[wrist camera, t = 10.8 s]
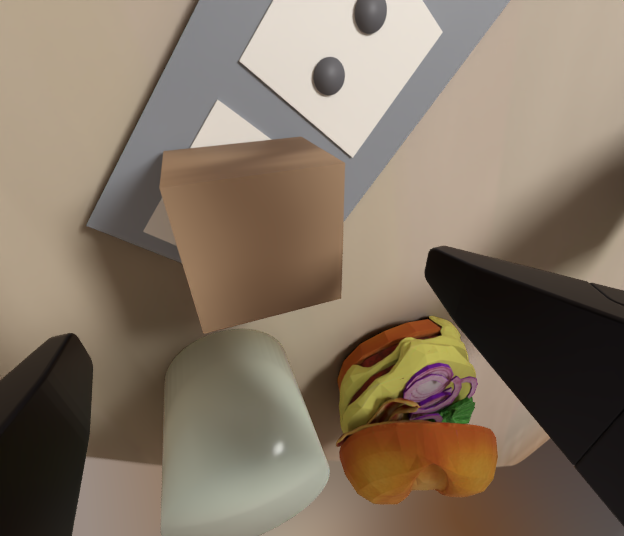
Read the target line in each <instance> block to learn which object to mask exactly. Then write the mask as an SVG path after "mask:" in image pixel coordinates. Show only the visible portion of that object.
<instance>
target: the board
mask: <svg viewBox="0 0 624 536" xmlns="http://www.w3.org/2000/svg"><path fill="white" fill-rule="evenodd" d="M509 1H510V0H199V2H198V4H197V6H196V8H195V10H194V12H193V14H192V16H191V18H190V20H189V22H188V24H187V26H186V28H185V30H184V32H183V34H182V36H181V38H180V40H179V42H178V44H177V46H176V48H175V50H174V52H173V54H172V56H171V58H170V59H169V61H168V63H167V65H166V67H165V69H164V71H163V73H162V75H161V77H160V79H159V81H158V83H157V85H156V87H155V89H154V91H153V93H152V95H151V97H150V99H149V101H148V103H147V105H146V107H145V109H144V111H143V113H142V115H141V117H140V119H139V121H138V123H137V125H136V127H135V129H134V131H133V133H132V135H131V137H130V139H129V141H128V143H127V145H126V147H125V149H124V151H123V153H122V155H121V157H120V159H119V161H118V163H117V165H116V167H115V169H114V171H113V173H112V175H111V177H110V179H109V181H108V183H107V185H106V187H105V189H104V191H103V193H102V195H101V197H100V199H99V201H98V203H97V205H96V207H95V209H94V211H93V213H92V215H91V217H90V219H89V221H88V223H87V225H86V226H88V227H91V228H93V229H96V230H98V231H101V232H104V233H106V234H109V235H111V236H114V237H116V238H119V239H121V240H124V241H126V242H129V243H131V244H134V245H137V246H139V247H142V248H144V249H147V250H149V251H152V252H154V253H157V254H159V255H162V256H164V257H167V258H170V259H172V260H175V261H177V262H180V263H182V261H181V258H180V255H179V251H178V248H177V245H176V241H175V238H174V235H173V231H172V228H171V225H170V222H169V218H168V215H167V212H166V208H165V205H164V202H163V198H162V195H161V192H160V188H159V187H160V178H161V169H162V159H163V151H169V150H179V149H188V148H198V147H207V146H217V145H226V144H235V143H245V142H254V141H264V140H273V139H283V138H292V137H303V138H305V139H306V140H308V141H310V142H311V143H313V144H315V145H316V146H318V147H319V148H321V149H323V150H324V151H326V152H328V153H329V154H331V155H333V156H334V157H336V158H338V159H339V160H341V161H343V162H344V163H345V186H344V220H343V222H344V221H345V219H346V218H347V217H348V215H349V214H350V213H351V211H352V210H353V209H354V207H355V206H356V205H357V203H358V202H359V201H360V199H361V198H362V197H363V195H364V194H365V193H366V191H367V190H368V189H369V187H370V186H371V185H372V184H373V182H374V181H375V180H376V178H377V177H378V176H379V174H380V173H381V172H382V170H383V169H384V168H385V166H386V165H387V164H388V162H389V161H390V160H391V158H392V157H393V156H394V154H395V153H396V152H397V150H398V149H399V148H400V146H401V145H402V144H403V142H404V141H405V140H406V138H407V137H408V136H409V134H410V133H411V132H412V130H413V129H414V128H415V126H416V125H417V124H418V122H419V121H420V120H421V118H422V117H423V116H424V114H425V113H426V112H427V110H428V109H429V108H430V106H431V105H432V104H433V102H434V101H435V100H436V98H437V97H438V96H439V94H440V93H441V92H442V90H443V89H444V88H445V86H446V85H447V84H448V82H449V81H450V80H451V78H452V77H453V76H454V74H455V73H456V72H457V71H458V69H459V68H460V67H461V65H462V64H463V63H464V61H465V60H466V59H467V57H468V56H469V55H470V53H471V52H472V51H473V49H474V48H475V47H476V45H477V44H478V43H479V41H480V40H481V39H482V37H483V36H484V35H485V33H486V32H487V31H488V29H489V28H490V27H491V25H492V24H493V23H494V21H495V20H496V19H497V17H498V16H499V15H500V13H501V12H502V11H503V9H504V8H505V7H506V5H507V4H508V3H509Z"/></svg>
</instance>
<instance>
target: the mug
mask: <svg viewBox="0 0 624 536" xmlns="http://www.w3.org/2000/svg"><path fill="white" fill-rule="evenodd" d="M329 474H330V468H329V465H328V462H327V460H326V457H325V455H324V452H323V449H322V447H321V444H320V441H319V439H318V436H317V434H316V431H315V428H314V426H313V423H312V421H311V418H310V415H309V413H308V410H307V408H306V405H305V402H304V400H303V397H302V395H301V392H300V389H299V387H298V384H297V382H296V379H295V376H294V374H293V371H292V369H291V366H290V363H289V361H288V358H287V356H286V353H285V350H284V348H283V347H282V345H281V344H280V343H279V342H278V341H277V340H276V339H275V338H274V337H272V336H270V335H268V334H266V333H263V332H260V331H256V330H250V329H232V330H225V331H220V332H217V333H213V334H210V335H208V336H205V337H203V338H201V339H199V340H197V341H195V342H193V343H192V344H190V345H188V346H187V347H186V348H185V349H183V350H182V351H181V352H180V353H179V354H178V355H177V356H176V357H175V358H174V360H173V361H172V362H171V364H170V366H169V367H168V369H167V372H166V375H165V384H164V422H163V460H162V499H161V535H162V536H259V535H262V534H264V533H266V532H268V531H270V530H272V529H274V528H276V527H278V526H280V525H281V524H283V523H285V522H286V521H288V520H289V519H291V518H293V517H294V516H296V515H297V514H298V513H300V512H301V511H302V510H304V509H305V508H306V507H307V506H308V505H309V504H311V502H313V501H314V499H316V497H317V496H318V495H319V494H320V493H321V491H322V490H323V488H324V487H325V485H326V483H327V481H328V479H329Z"/></svg>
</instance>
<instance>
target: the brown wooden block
mask: <svg viewBox="0 0 624 536" xmlns="http://www.w3.org/2000/svg"><path fill="white" fill-rule="evenodd" d="M344 186H345V163H344V162H343V161H341V160H339V159H338V158H336V157H334V156H333V155H331V154H329V153H328V152H326V151H324V150H323V149H321V148H319V147H318V146H316V145H315V144H313V143H311V142H310V141H308V140H306V139H305V138H303V137H292V138H283V139H273V140H264V141H254V142H245V143H235V144H226V145H217V146H207V147H198V148H188V149H179V150H169V151H163V159H162V169H161V178H160V187H159V188H160V192H161V195H162V198H163V202H164V205H165V208H166V212H167V215H168V218H169V222H170V225H171V228H172V231H173V235H174V238H175V241H176V245H177V248H178V251H179V255H180V258H181V261H182V265H183V268H184V271H185V274H186V278H187V281H188V284H189V288H190V291H191V294H192V298H193V301H194V304H195V308H196V311H197V314H198V317H199V321H200V324H201V327H202V331H203V334H206V333H209V332H213V331H217V330H221V329H225V328H229V327H233V326H236V325H240V324H244V323H248V322H252V321H256V320H260V319H263V318H267V317H271V316H275V315H279V314H283V313H287V312H290V311H294V310H298V309H302V308H306V307H310V306H314V305H317V304H321V303H325V302H329V301H333V300H337V299H341V287H342V254H343V220H344Z"/></svg>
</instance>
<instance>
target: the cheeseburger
mask: <svg viewBox="0 0 624 536" xmlns="http://www.w3.org/2000/svg"><path fill="white" fill-rule="evenodd" d="M429 318H430V320H428V319H426V320H420V321H413V322H408V323H405V324H402V325H399V326H397V327H394V328H391V329H389V330H386V331H384V332H382V333H380V334H378V335H376V336H374V337H372V338H370V339H368V340H367V341H365V342H363V343H361V344H360V345H359V346H358V347H357V348H356V349H355V350H354V351H353V352H352V353H351V354H350V355H349V356H348V357H347V358H346V359H345V360H344V361H343V364H342V367H341V370H340V373H339V376H338V379H337V381H338V387H339V392H340V402H339V412H340V425H341V429H342V432H343V435H342V436H341V437H340V438H339V439H338V441H337V443H336V446H337V447H340V446H341V448H340V452H339V453H340V460H341V463H342V466H343V469H344V472H345V475H346V477H347V478H348V480H349V481H350V483H351V484H352V486H353V487H354V489H355V490H356V492H357V494H359V495H360V496H362V497H364V498H365V499H367V500H369V501H370V502H372V503H374V504H398V503H400V502H401V501H403V500H404V499H405V498H406V497H407V496H408V495H409V494H410V492H411V490H434V489H435V490H436V491H438V492H439V493H440V494H442V495H446V496H449V497H468V496H471V495H474V494H477V493H480V492H483V491H484V490H485V489H486V488H487V486H488V485H489V484H490V483H491V481H492V480H493V478H494V473H495V468H496V463H497V458H498V455H497V444H496V437H495V435H494V433H493V432H492V431H491V429H488V428H485V427H482V426H476V425H470V424H467V423H469V421H470V417H471V414H472V412H473V410H474V408H475V407H474V406H475V402H473V399H472V395H473V394H474V393H475V390H476V388H477V385H478V383H477V379H476V373H475V370H474V367H473V365H472V364H470V363H469V360H468V354H467V351H466V348H465V345H464V343H462V342H461V341H460V333H459V332H458V330H457V329H456V328H455V326H454V325H453V324H452V323H451V322H449V321H447V320H445V319H442V318H438V317H435V316H429ZM431 320H432V321H431Z"/></svg>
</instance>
